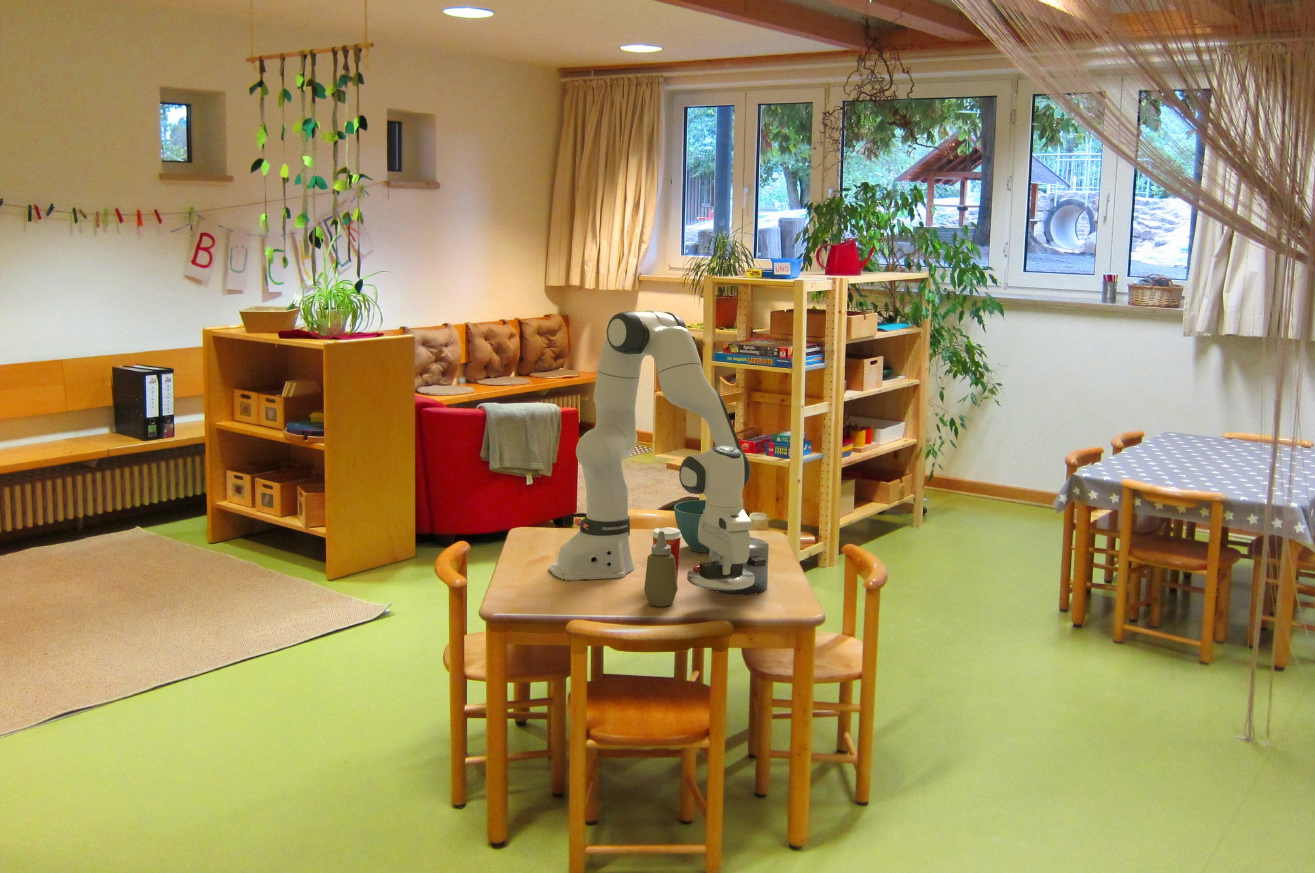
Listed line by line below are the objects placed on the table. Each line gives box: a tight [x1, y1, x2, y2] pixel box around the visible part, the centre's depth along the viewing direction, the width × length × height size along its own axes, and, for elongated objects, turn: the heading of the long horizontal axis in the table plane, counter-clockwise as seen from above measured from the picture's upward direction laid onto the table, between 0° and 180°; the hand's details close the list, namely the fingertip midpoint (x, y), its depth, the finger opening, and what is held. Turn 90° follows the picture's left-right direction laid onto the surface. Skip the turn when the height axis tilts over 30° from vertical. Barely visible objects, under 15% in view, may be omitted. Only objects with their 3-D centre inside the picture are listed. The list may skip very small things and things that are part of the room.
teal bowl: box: [673, 499, 709, 554], centre depth 328 cm, size 18×18×12 cm
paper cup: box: [651, 526, 683, 579], centre depth 296 cm, size 8×8×14 cm
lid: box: [686, 561, 755, 591], centre depth 276 cm, size 16×16×4 cm
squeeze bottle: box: [643, 531, 678, 607], centre depth 280 cm, size 8×8×18 cm
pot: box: [708, 536, 770, 596], centre depth 295 cm, size 15×22×11 cm
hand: (721, 571), depth 276 cm, fingers closed on lid, 3 cm apart
